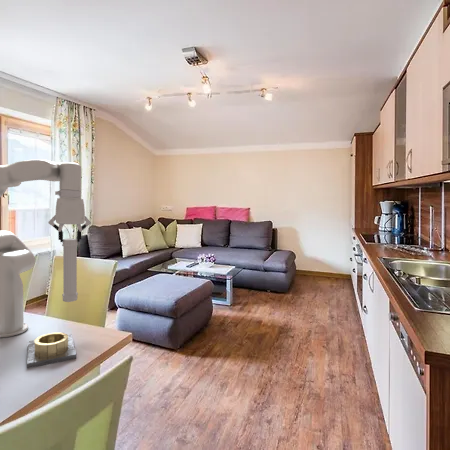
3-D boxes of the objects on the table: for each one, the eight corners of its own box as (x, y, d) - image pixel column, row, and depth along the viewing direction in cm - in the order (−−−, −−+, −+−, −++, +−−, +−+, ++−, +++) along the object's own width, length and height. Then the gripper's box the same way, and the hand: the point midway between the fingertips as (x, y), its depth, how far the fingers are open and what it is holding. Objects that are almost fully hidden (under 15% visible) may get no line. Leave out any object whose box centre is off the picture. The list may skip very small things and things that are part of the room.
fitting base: (28, 345, 115) (28, 330, 115) (71, 337, 122) (71, 324, 122) (27, 368, 99) (26, 351, 99) (76, 358, 107) (76, 342, 106)
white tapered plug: (71, 302, 122) (71, 225, 120) (57, 301, 123) (57, 224, 121) (80, 298, 127) (81, 224, 125) (67, 297, 129) (67, 223, 126)
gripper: (45, 193, 115) (45, 243, 116) (95, 196, 124) (94, 242, 125) (44, 193, 121) (44, 240, 123) (92, 196, 130) (92, 239, 131)
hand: (70, 241), depth 124 cm, fingers closed on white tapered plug, 5 cm apart
